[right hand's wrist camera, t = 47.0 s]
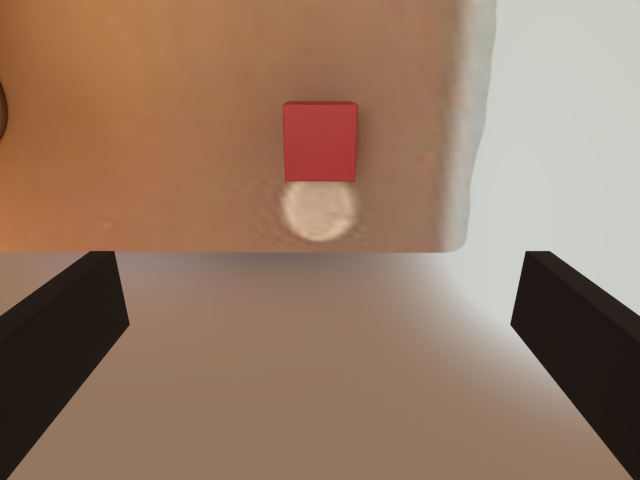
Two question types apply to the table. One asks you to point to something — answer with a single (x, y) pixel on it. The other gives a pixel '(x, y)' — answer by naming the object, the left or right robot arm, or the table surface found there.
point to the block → (320, 141)
